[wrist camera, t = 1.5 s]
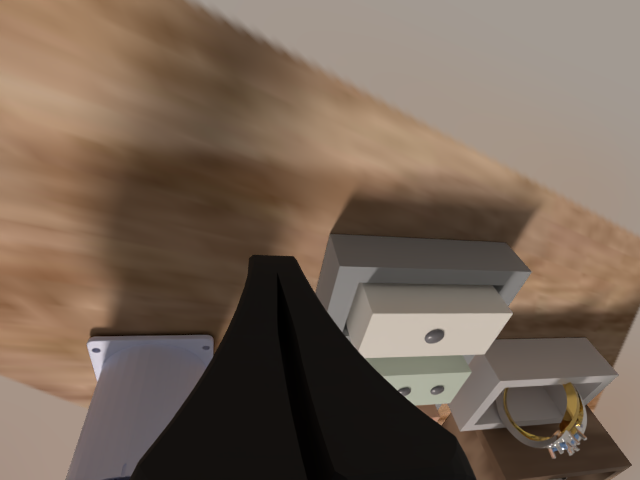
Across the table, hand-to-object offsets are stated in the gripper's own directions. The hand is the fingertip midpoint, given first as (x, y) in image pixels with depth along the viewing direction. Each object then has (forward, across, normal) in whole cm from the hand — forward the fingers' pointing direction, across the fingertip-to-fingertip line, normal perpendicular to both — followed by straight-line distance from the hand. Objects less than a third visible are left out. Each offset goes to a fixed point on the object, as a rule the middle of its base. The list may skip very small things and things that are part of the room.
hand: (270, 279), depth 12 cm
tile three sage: (+7, -11, +14) cm, 20 cm away
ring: (+9, -26, +20) cm, 34 cm away
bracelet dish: (+9, -26, +20) cm, 34 cm away
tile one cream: (+7, -11, +8) cm, 16 cm away
